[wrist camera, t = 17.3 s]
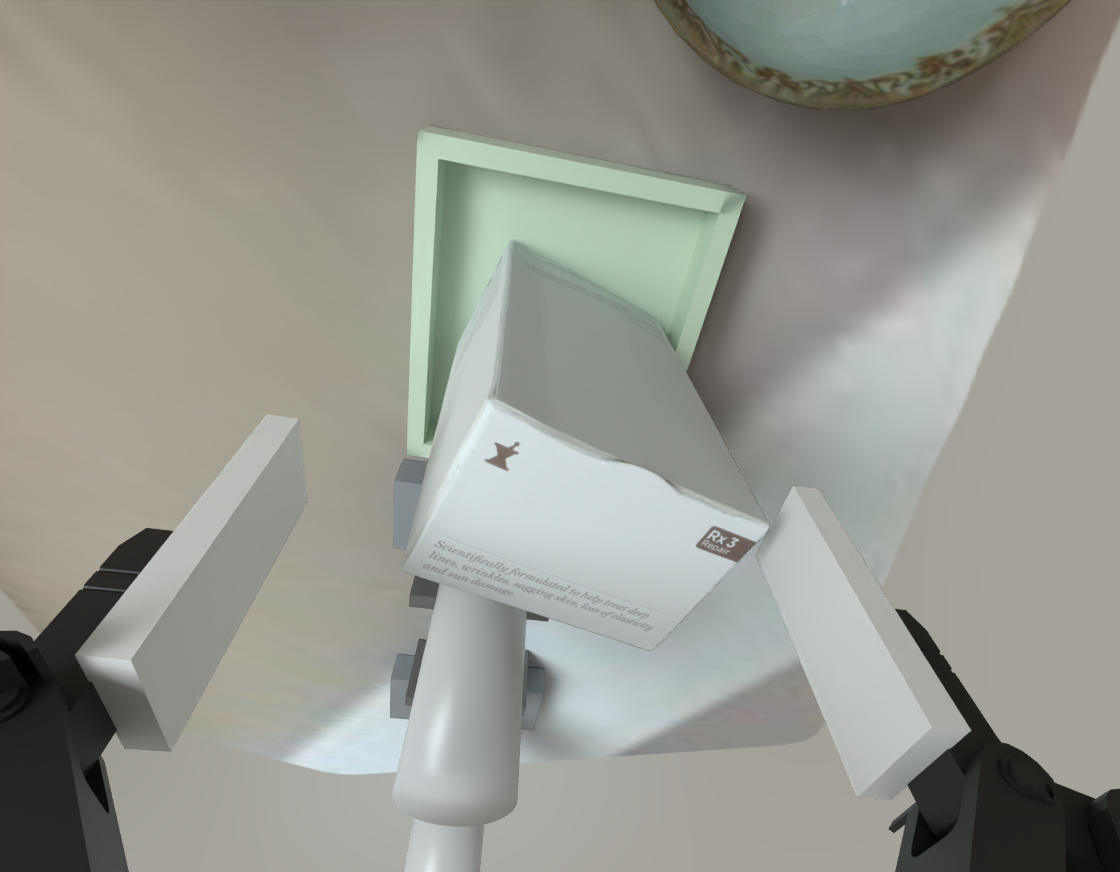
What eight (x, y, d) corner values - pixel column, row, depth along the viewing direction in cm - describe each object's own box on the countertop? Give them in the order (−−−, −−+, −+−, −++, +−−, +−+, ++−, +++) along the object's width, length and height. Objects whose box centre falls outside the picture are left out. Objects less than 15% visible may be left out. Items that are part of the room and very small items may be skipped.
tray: (416, 428, 30) (406, 454, 28) (430, 125, 22) (417, 130, 20) (641, 460, 31) (647, 487, 29) (729, 185, 23) (746, 195, 21)
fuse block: (396, 693, 43) (325, 968, 30) (403, 459, 31) (288, 749, 18) (534, 705, 44) (526, 976, 31) (593, 484, 32) (622, 776, 19)
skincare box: (458, 341, 26) (373, 575, 14) (514, 227, 24) (471, 393, 11) (605, 413, 29) (646, 669, 16) (673, 318, 26) (784, 539, 13)
